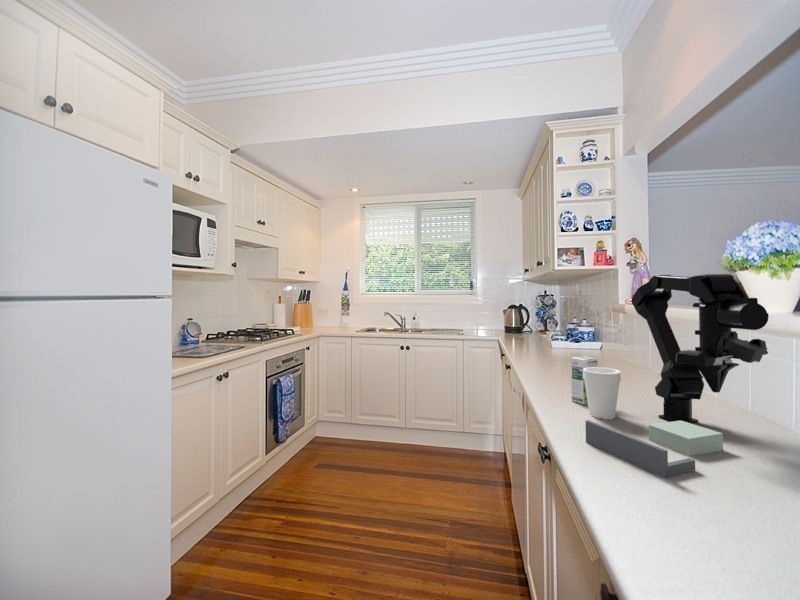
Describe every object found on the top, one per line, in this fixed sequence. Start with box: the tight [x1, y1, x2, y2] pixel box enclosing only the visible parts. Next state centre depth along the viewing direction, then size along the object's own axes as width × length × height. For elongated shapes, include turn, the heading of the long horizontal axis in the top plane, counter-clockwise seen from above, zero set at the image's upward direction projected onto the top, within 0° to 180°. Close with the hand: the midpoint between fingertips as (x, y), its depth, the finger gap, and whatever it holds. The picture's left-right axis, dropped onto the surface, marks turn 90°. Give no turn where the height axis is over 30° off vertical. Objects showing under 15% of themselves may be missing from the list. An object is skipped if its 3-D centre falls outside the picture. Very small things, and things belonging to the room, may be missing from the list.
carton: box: [648, 420, 724, 457], centre depth 81 cm, size 10×9×4 cm
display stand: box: [585, 419, 696, 479], centre depth 76 cm, size 8×18×5 cm, turn 18°
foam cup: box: [583, 366, 622, 420], centre depth 102 cm, size 10×9×13 cm
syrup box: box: [570, 356, 599, 406], centre depth 115 cm, size 6×6×14 cm
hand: (716, 392), depth 84 cm, fingers closed
